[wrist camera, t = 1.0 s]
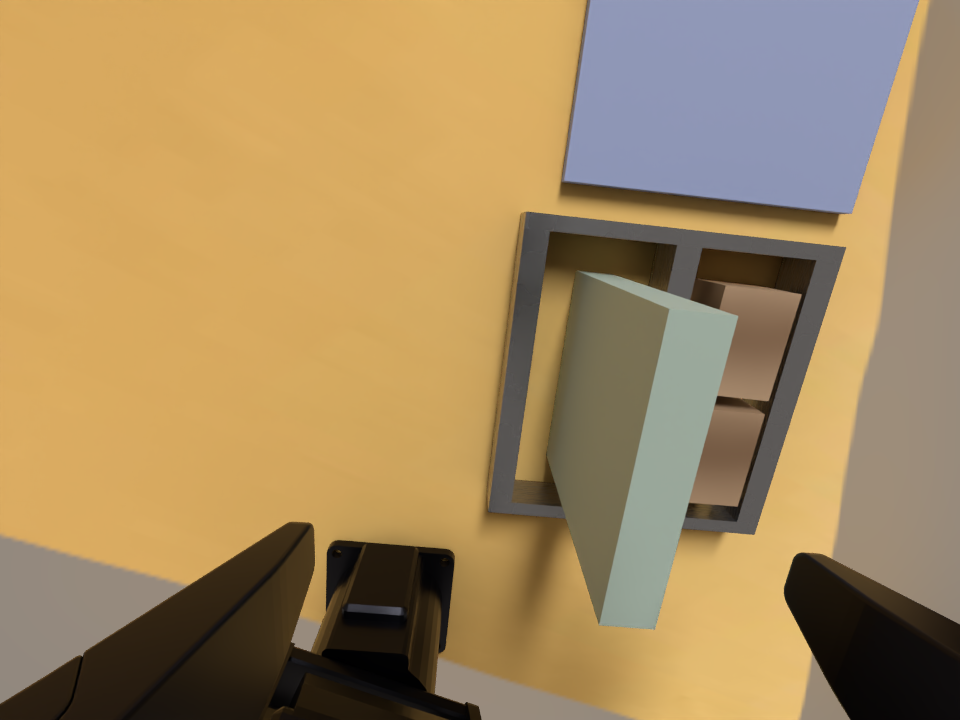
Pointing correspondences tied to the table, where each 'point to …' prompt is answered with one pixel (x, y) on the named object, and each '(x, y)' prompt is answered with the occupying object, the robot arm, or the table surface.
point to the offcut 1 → (751, 333)
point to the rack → (675, 274)
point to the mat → (734, 97)
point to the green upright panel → (632, 433)
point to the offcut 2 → (727, 452)
